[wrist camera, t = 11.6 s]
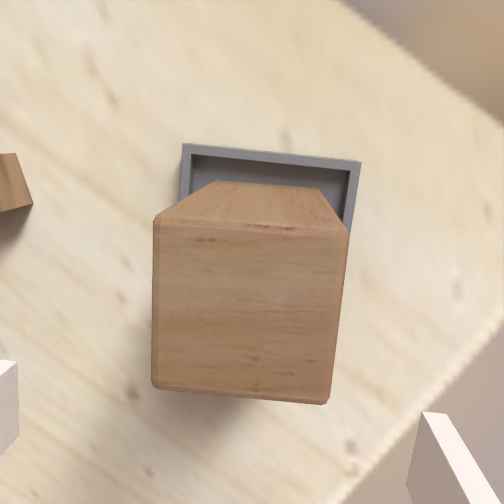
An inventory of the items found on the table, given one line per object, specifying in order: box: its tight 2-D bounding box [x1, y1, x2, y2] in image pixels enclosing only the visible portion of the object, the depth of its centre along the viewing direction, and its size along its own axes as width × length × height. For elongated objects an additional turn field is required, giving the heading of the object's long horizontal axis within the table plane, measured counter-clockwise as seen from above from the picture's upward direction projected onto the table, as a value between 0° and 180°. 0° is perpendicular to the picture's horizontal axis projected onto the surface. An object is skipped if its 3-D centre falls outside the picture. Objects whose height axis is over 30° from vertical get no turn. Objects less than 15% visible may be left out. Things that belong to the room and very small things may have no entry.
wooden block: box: [151, 180, 349, 405], centre depth 33 cm, size 10×10×20 cm
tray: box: [179, 143, 361, 238], centre depth 42 cm, size 16×16×2 cm
